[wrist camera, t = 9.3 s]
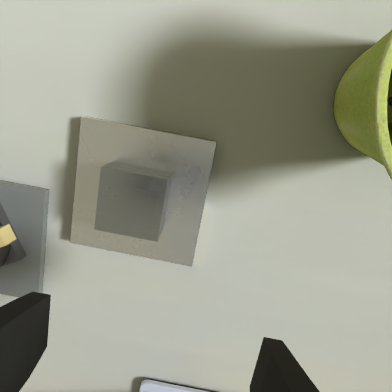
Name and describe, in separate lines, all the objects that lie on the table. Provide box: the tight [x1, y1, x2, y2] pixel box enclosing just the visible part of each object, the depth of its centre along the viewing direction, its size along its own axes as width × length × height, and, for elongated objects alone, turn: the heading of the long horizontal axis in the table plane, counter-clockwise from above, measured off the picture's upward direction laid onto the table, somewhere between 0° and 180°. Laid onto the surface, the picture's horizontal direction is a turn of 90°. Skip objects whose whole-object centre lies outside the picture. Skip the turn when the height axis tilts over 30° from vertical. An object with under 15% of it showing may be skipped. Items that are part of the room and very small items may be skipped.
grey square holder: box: [70, 117, 216, 266], centre depth 18 cm, size 8×8×3 cm
